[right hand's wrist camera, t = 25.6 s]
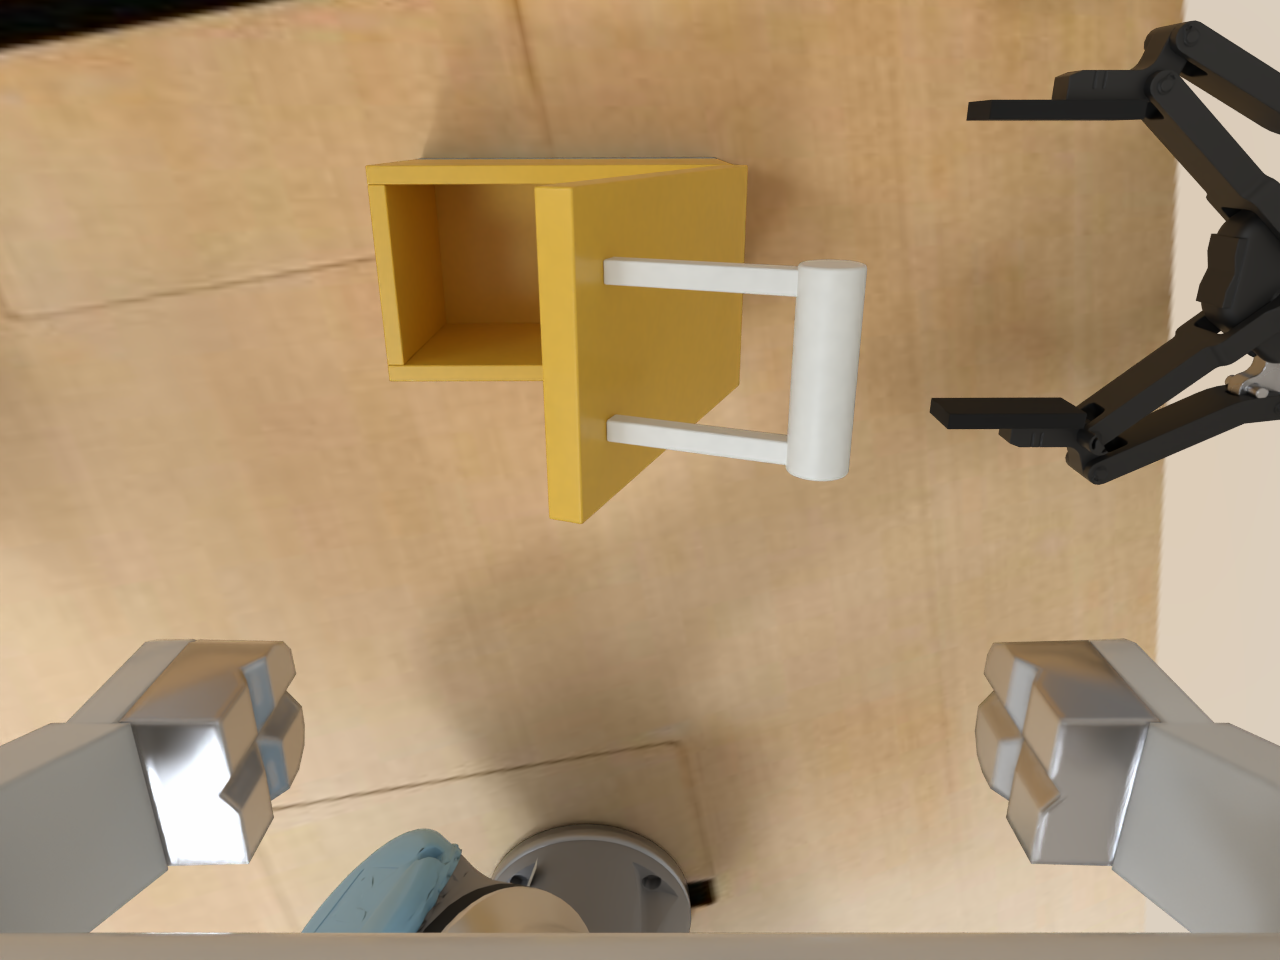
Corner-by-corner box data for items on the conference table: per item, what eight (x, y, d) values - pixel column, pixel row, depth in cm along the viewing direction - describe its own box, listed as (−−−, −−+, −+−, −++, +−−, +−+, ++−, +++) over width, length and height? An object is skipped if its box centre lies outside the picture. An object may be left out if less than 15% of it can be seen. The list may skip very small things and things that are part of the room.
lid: (548, 519, 26) (827, 568, 23) (533, 185, 23) (860, 193, 20) (715, 383, 40) (902, 402, 37) (722, 164, 37) (929, 166, 34)
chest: (436, 334, 50) (388, 381, 41) (421, 158, 47) (364, 165, 37) (710, 333, 50) (726, 380, 41) (714, 157, 47) (733, 164, 37)
